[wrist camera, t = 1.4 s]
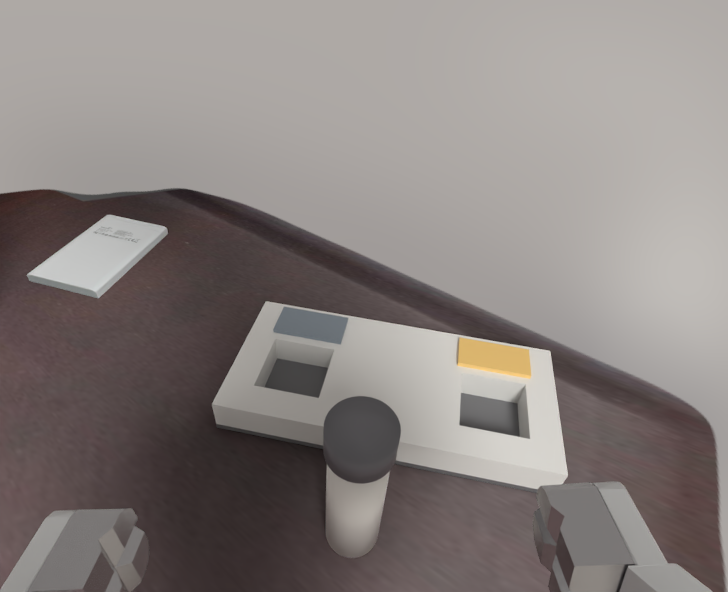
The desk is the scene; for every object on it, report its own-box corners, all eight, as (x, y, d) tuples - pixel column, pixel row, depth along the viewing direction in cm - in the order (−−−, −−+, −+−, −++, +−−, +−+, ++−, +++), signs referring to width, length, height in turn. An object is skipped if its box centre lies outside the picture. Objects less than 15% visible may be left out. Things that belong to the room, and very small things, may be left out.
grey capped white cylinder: (315, 554, 32) (314, 453, 24) (330, 495, 35) (333, 390, 27) (375, 567, 31) (395, 470, 23) (385, 507, 34) (405, 403, 26)
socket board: (217, 427, 38) (210, 401, 36) (268, 324, 47) (265, 298, 45) (554, 496, 36) (569, 472, 33) (540, 373, 45) (551, 347, 42)
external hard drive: (31, 285, 50) (109, 224, 60) (100, 302, 49) (169, 237, 58) (25, 273, 49) (106, 212, 59) (95, 290, 48) (166, 225, 57)
